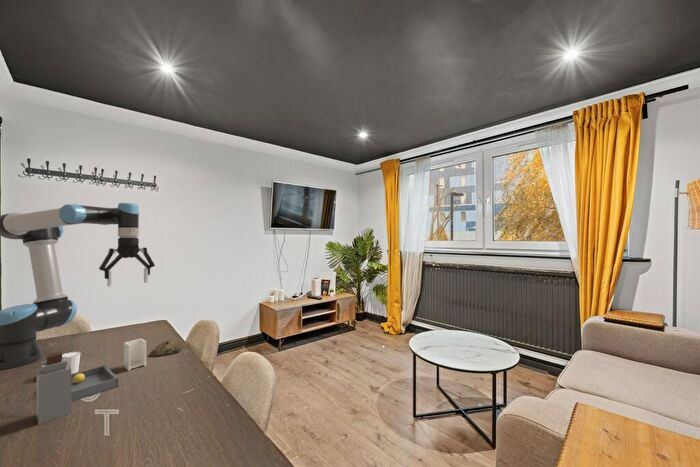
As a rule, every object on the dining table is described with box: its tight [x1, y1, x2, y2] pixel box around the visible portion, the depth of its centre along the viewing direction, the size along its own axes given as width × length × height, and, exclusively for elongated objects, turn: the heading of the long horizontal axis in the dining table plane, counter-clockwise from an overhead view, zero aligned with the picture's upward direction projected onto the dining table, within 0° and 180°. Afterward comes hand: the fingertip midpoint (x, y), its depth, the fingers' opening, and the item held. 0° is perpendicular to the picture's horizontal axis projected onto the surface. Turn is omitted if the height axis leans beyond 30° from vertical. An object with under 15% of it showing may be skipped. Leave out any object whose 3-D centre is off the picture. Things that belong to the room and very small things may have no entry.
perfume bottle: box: [35, 350, 72, 425], centre depth 89 cm, size 7×7×18 cm
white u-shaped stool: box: [123, 337, 147, 372], centre depth 121 cm, size 6×6×10 cm
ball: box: [73, 373, 85, 383], centre depth 106 cm, size 3×3×3 cm
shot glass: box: [62, 351, 81, 374], centre depth 116 cm, size 7×7×7 cm
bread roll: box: [149, 339, 183, 357], centre depth 138 cm, size 13×12×5 cm
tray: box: [71, 364, 119, 403], centre depth 104 cm, size 18×16×3 cm
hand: (128, 284), depth 134 cm, fingers open, 13 cm apart
